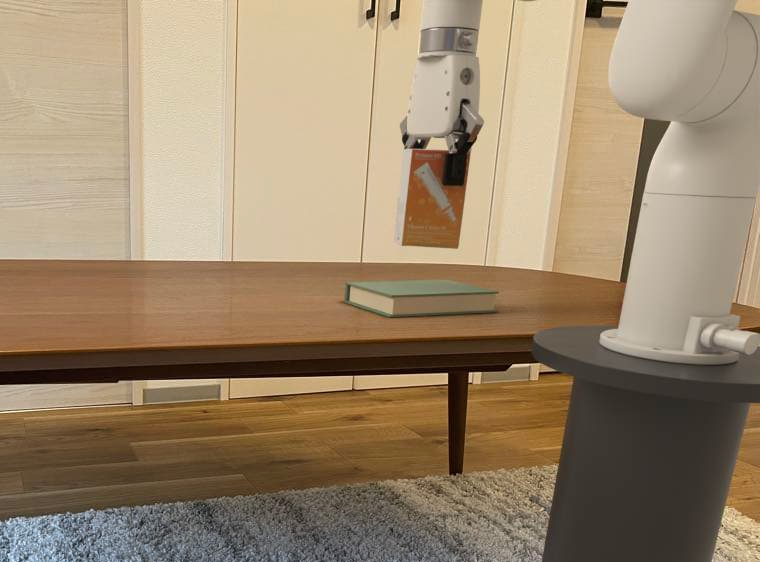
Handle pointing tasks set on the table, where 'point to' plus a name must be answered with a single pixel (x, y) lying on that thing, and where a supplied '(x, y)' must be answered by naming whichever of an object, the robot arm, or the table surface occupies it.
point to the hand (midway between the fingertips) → (432, 183)
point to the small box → (428, 202)
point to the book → (420, 297)
